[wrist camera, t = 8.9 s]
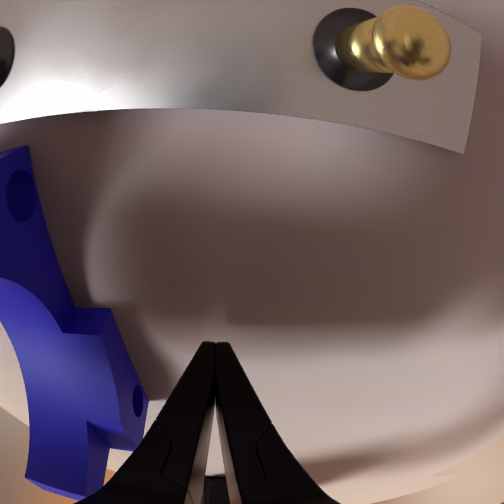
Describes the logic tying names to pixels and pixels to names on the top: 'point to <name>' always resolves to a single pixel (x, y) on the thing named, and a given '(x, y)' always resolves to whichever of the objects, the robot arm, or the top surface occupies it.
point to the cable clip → (61, 351)
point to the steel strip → (245, 61)
